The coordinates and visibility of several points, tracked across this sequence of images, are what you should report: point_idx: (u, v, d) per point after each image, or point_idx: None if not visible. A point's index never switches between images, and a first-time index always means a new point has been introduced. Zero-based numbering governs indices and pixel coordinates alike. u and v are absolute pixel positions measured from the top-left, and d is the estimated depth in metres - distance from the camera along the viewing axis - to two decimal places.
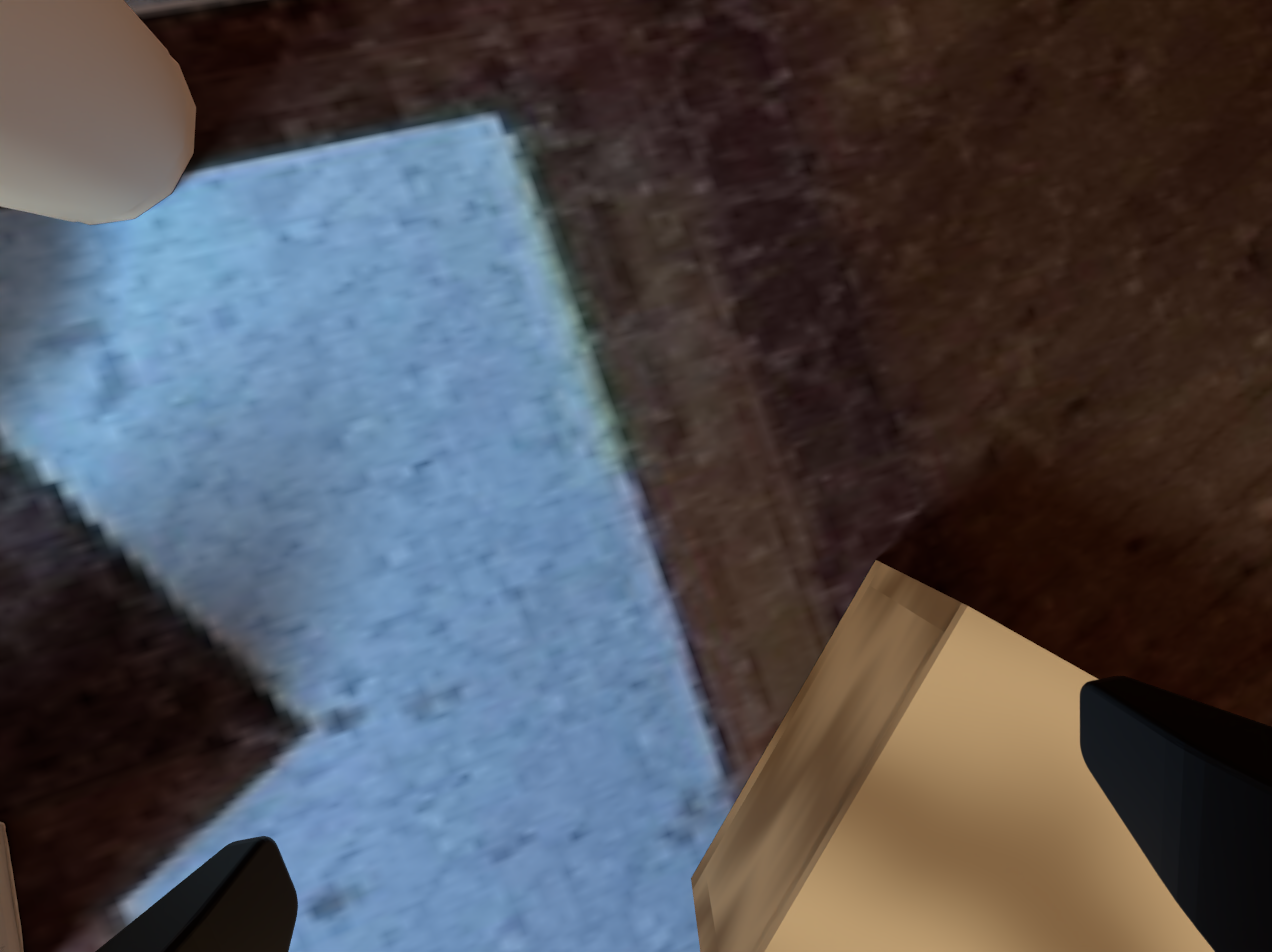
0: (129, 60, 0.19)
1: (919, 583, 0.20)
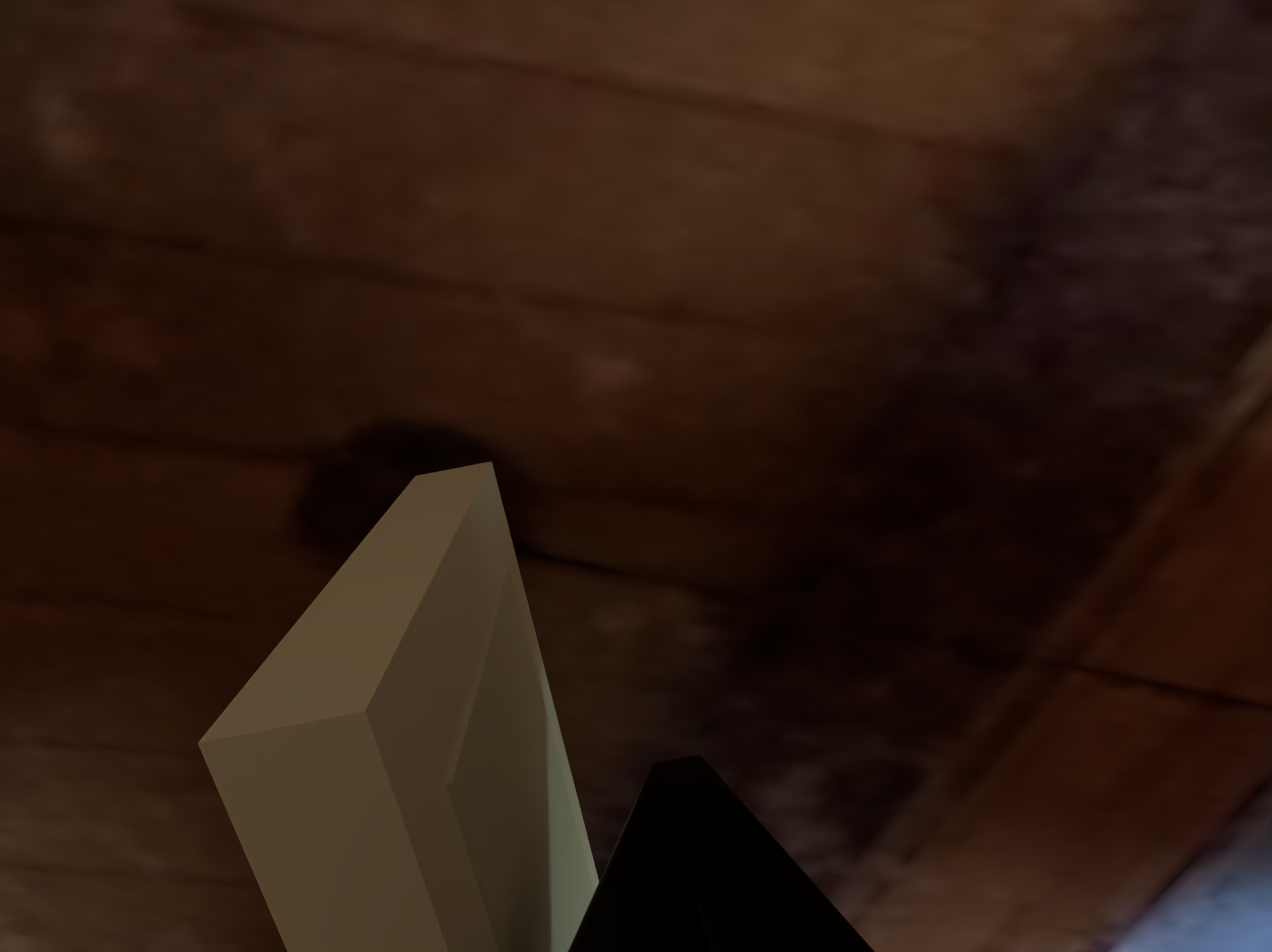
0: None
1: None
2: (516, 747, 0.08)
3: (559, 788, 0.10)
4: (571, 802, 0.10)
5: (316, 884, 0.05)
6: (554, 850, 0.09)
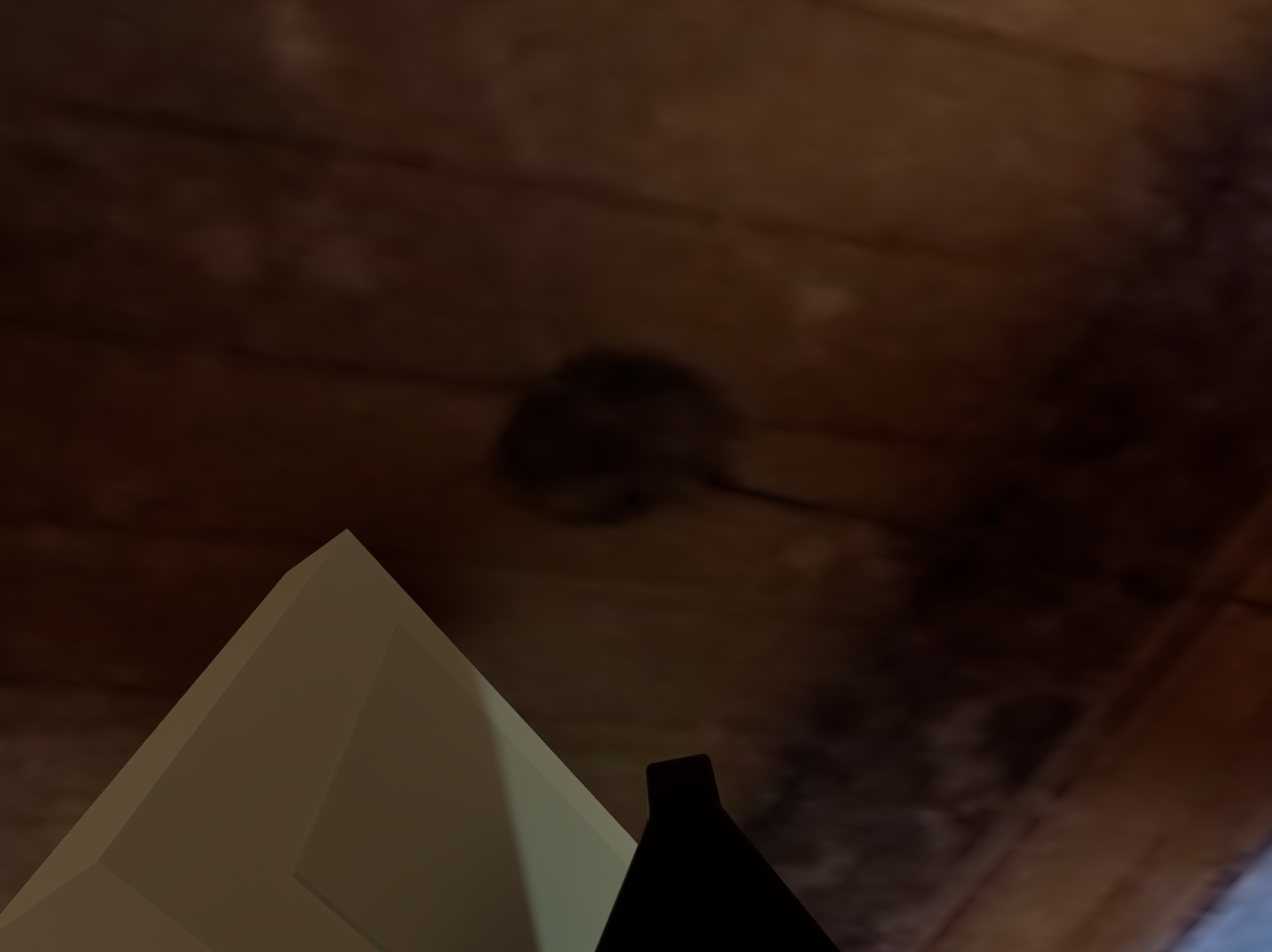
0: None
1: None
2: (439, 791, 0.08)
3: (544, 800, 0.09)
4: (578, 804, 0.10)
5: None
6: (542, 864, 0.08)
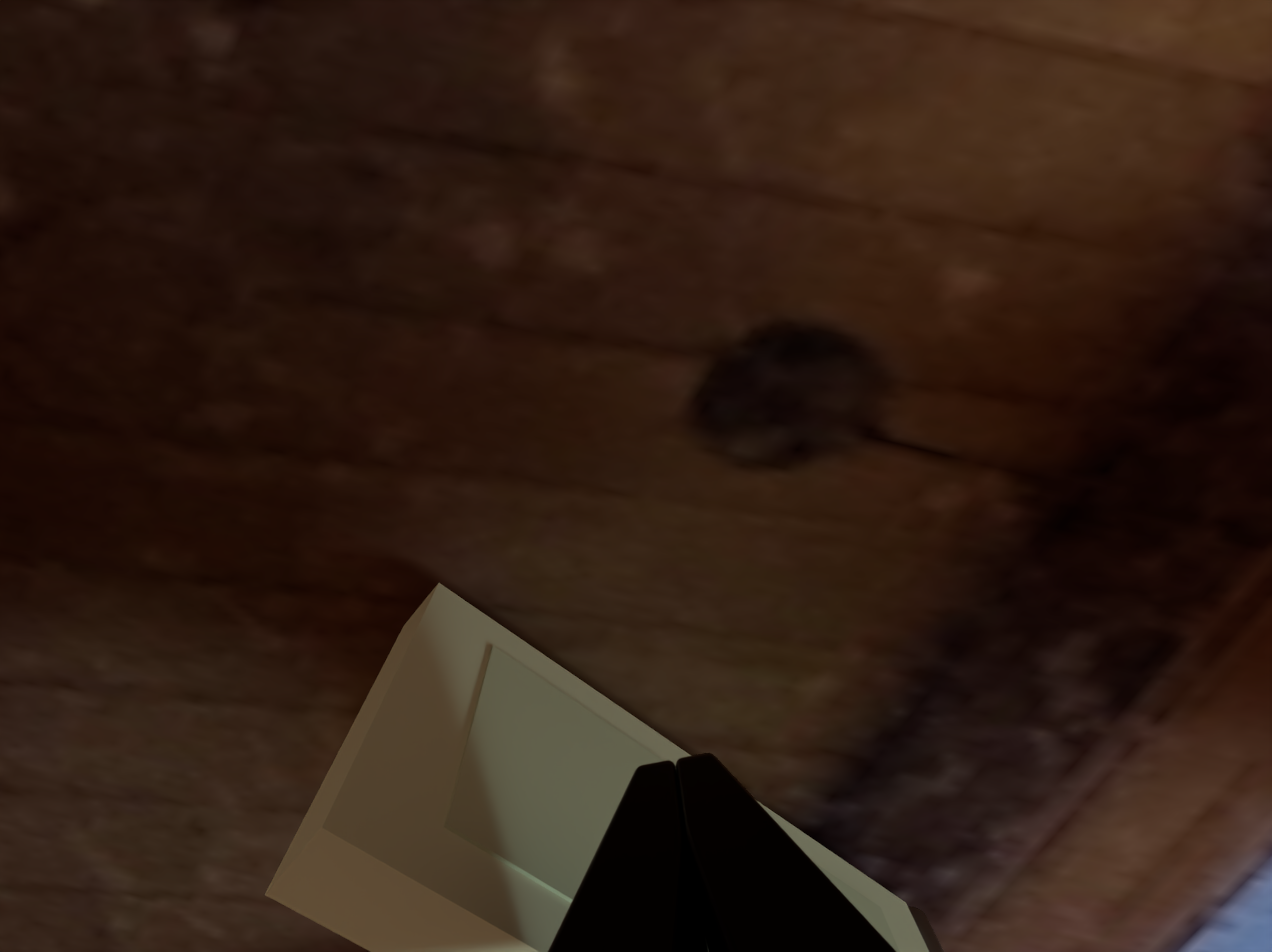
0: None
1: None
2: (544, 762, 0.10)
3: (637, 758, 0.12)
4: (670, 758, 0.13)
5: (384, 927, 0.07)
6: None
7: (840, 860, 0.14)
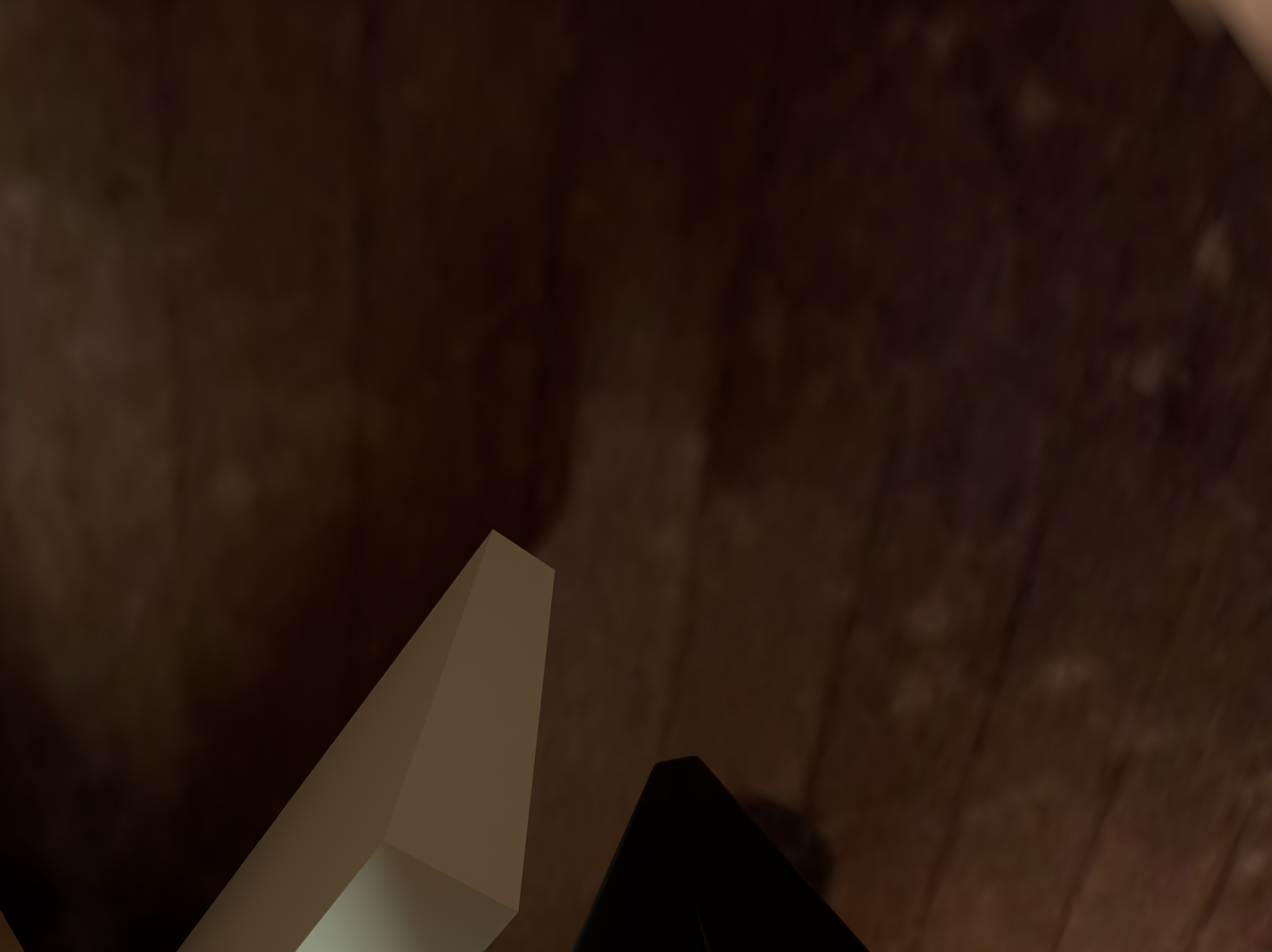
0: None
1: None
2: None
3: None
4: None
5: None
6: None
7: None
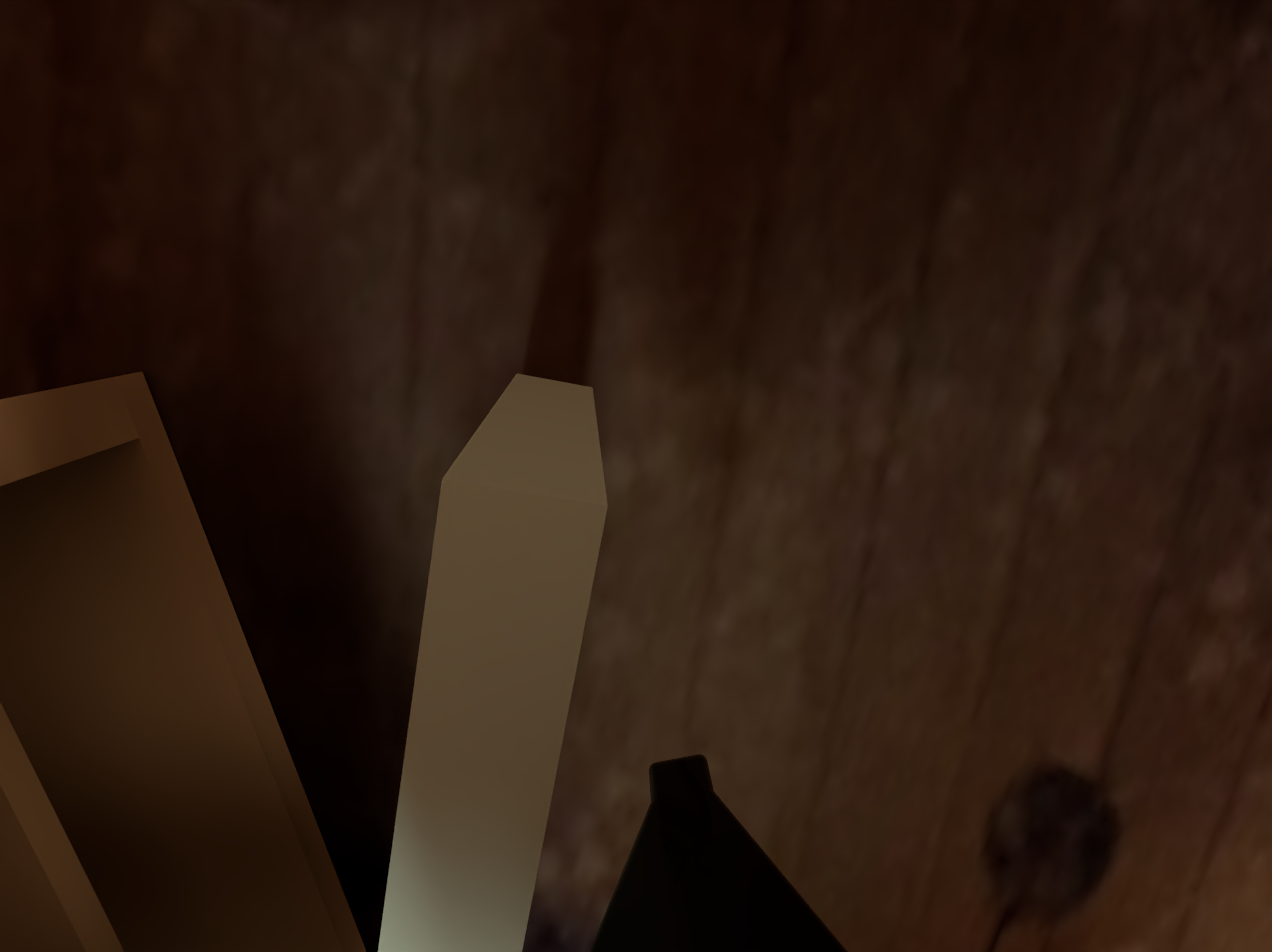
0: None
1: None
2: None
3: None
4: None
5: (473, 659, 0.05)
6: None
7: None
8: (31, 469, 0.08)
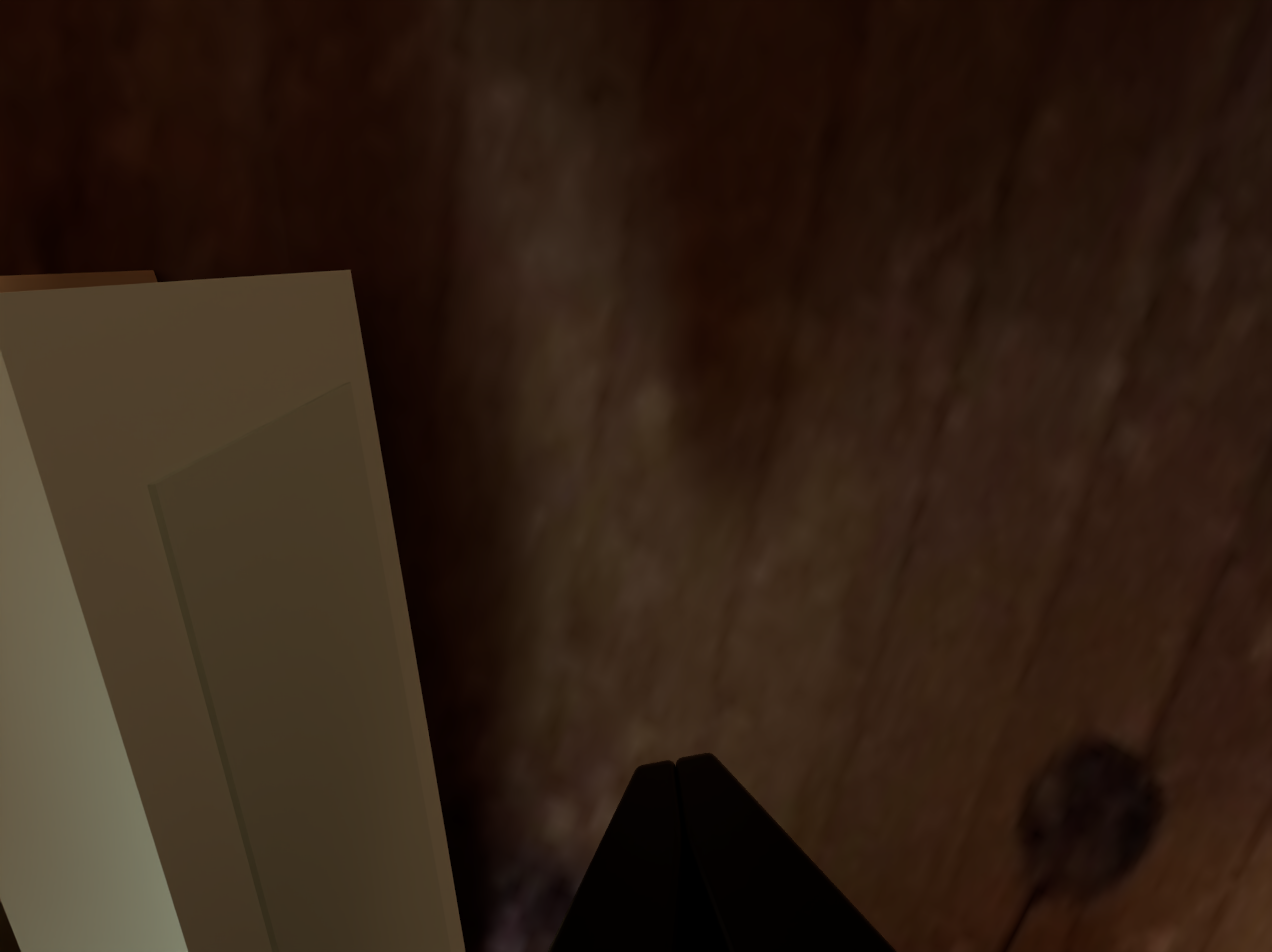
0: None
1: None
2: (307, 543, 0.07)
3: (382, 634, 0.09)
4: (404, 665, 0.10)
5: None
6: (353, 683, 0.08)
7: (453, 901, 0.11)
8: None
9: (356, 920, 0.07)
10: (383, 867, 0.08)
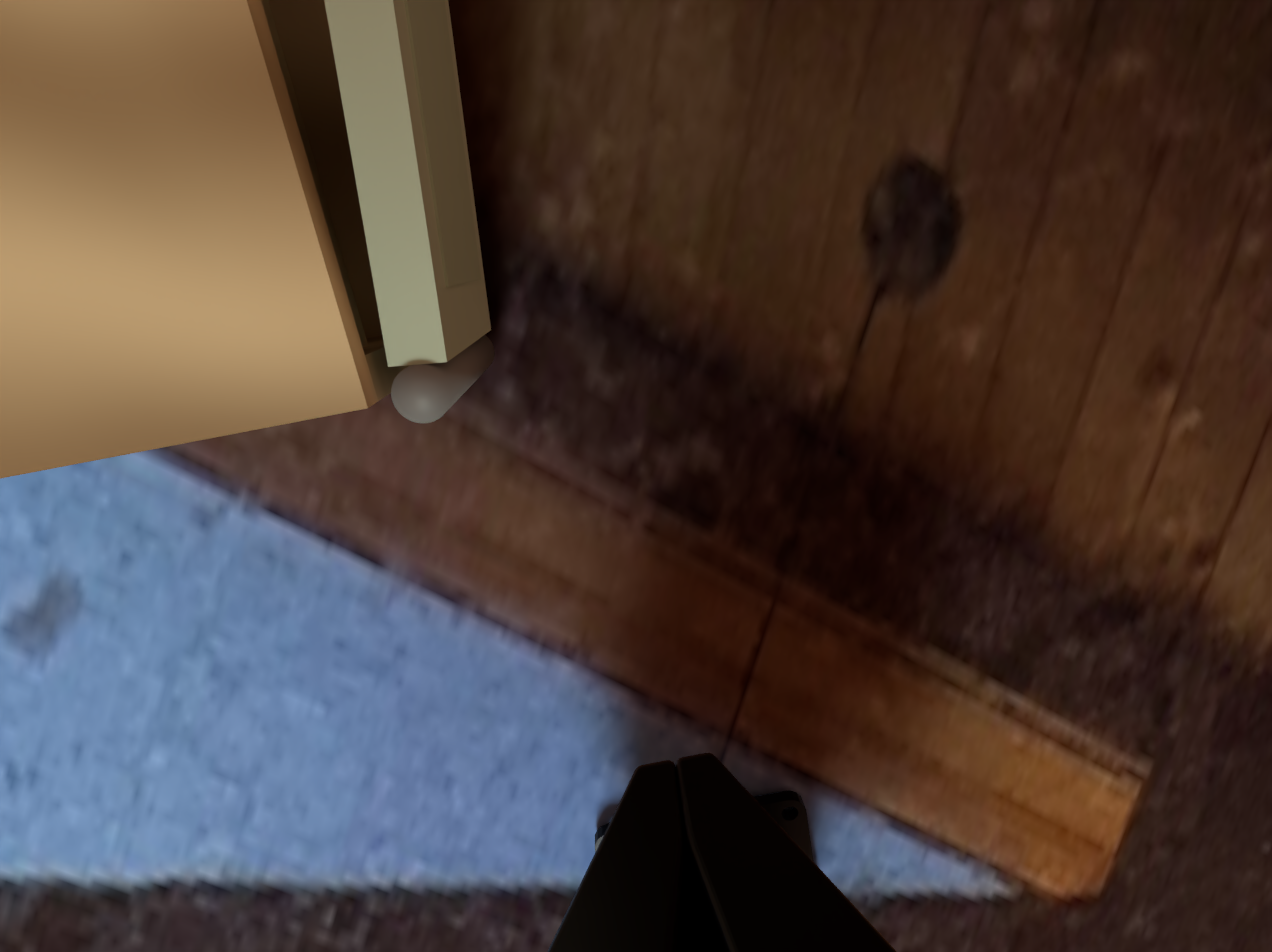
0: None
1: None
2: None
3: None
4: (448, 29, 0.15)
5: None
6: None
7: (478, 252, 0.17)
8: None
9: (429, 68, 0.13)
10: (441, 82, 0.14)
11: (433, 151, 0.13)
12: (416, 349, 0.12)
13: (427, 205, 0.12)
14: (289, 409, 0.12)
